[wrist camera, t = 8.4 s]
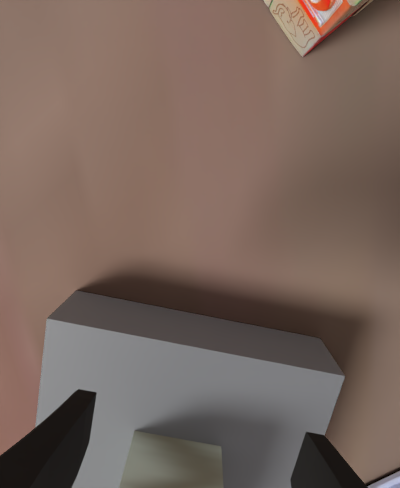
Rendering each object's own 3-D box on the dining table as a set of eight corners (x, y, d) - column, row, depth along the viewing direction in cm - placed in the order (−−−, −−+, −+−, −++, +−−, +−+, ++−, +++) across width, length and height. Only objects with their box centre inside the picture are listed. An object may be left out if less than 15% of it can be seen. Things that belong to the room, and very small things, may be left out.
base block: (320, 338, 22) (345, 376, 18) (260, 525, 25) (270, 590, 21) (76, 290, 21) (46, 318, 17) (51, 488, 25) (22, 548, 21)
